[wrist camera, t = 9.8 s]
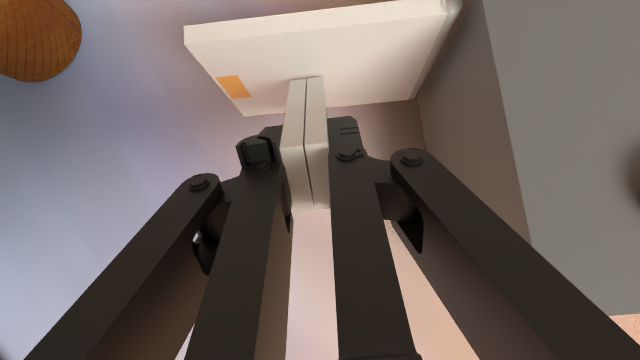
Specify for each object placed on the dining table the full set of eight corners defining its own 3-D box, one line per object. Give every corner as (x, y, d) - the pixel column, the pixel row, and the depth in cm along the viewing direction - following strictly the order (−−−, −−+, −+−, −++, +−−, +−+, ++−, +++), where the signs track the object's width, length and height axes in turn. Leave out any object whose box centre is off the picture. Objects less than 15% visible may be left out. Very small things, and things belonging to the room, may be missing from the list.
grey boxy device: (400, -12, 23) (448, -228, 12) (539, -32, 22) (714, -274, 12) (446, 279, 20) (564, 328, 9) (609, 263, 19) (938, 297, 9)
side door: (416, 85, 21) (460, -9, 13) (418, 99, 20) (464, 13, 13) (243, 103, 21) (183, 24, 13) (244, 117, 21) (183, 45, 13)
